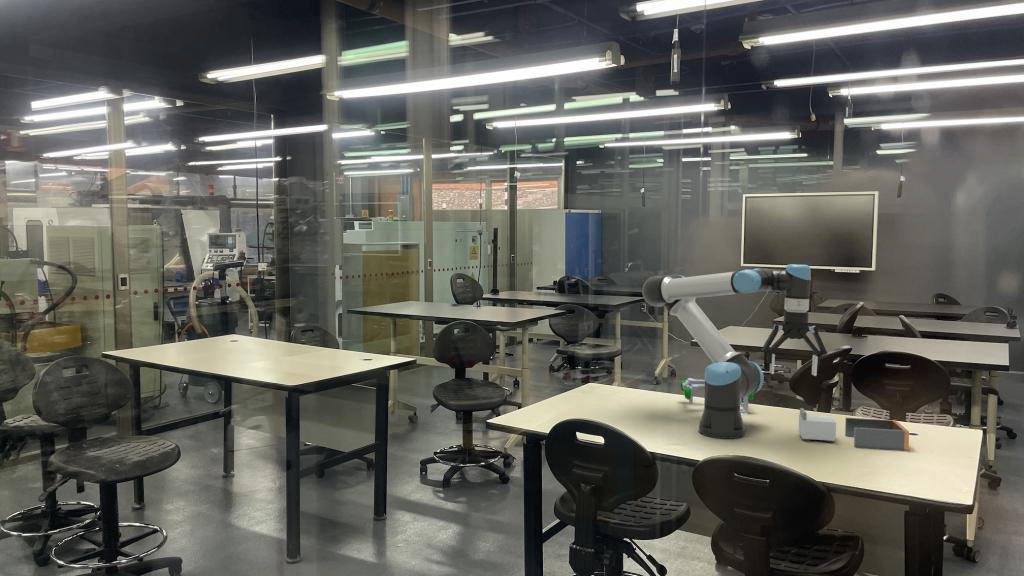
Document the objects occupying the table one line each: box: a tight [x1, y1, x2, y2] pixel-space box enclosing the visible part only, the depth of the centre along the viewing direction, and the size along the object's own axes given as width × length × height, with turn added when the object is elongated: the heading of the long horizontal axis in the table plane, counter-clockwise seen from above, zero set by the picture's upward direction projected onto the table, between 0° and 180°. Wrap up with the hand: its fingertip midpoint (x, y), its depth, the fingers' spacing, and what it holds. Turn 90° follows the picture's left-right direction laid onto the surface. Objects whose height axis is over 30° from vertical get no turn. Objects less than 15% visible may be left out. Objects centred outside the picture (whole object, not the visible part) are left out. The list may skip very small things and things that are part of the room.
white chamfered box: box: [798, 407, 837, 444], centre depth 224 cm, size 10×8×9 cm
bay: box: [844, 417, 910, 452], centre depth 220 cm, size 15×14×6 cm
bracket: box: [680, 377, 755, 414], centre depth 269 cm, size 19×25×10 cm
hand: (792, 374), depth 227 cm, fingers open, 13 cm apart
